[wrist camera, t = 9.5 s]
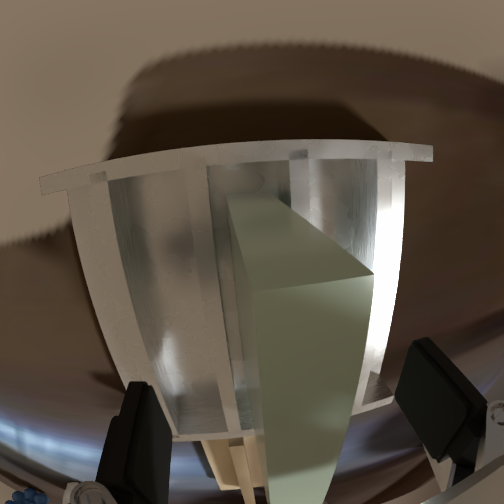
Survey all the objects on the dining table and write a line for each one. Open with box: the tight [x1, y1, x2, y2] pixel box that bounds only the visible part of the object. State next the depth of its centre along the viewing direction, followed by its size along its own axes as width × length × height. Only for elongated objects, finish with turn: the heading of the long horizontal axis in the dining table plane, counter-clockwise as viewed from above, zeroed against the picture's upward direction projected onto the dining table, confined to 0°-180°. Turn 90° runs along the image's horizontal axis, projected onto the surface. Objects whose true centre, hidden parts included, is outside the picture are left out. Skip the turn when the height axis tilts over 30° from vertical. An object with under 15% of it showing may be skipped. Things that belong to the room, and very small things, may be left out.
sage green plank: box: [226, 192, 376, 504], centre depth 11 cm, size 2×12×10 cm, turn 4°
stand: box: [201, 436, 264, 504], centre depth 21 cm, size 10×14×4 cm
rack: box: [39, 139, 433, 441], centre depth 15 cm, size 18×17×4 cm
